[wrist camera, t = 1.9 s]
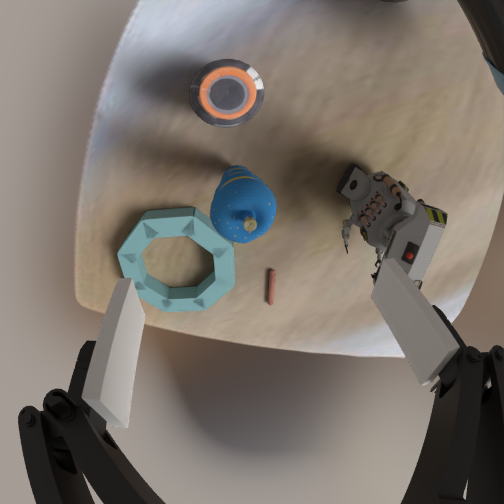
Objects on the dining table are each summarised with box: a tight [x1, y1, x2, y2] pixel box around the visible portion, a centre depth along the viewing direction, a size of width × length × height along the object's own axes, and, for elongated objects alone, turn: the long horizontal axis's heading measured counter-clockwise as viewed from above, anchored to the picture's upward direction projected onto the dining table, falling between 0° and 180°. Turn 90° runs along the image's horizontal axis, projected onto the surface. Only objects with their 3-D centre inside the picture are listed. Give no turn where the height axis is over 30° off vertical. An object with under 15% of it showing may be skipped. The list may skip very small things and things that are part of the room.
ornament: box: [210, 165, 276, 243], centre depth 24 cm, size 5×5×15 cm
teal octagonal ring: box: [117, 207, 235, 312], centre depth 35 cm, size 15×15×2 cm
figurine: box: [336, 163, 448, 290], centre depth 29 cm, size 9×12×15 cm
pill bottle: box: [189, 59, 264, 127], centre depth 21 cm, size 6×6×11 cm
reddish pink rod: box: [268, 270, 275, 305], centre depth 41 cm, size 7×1×1 cm, turn 0°
